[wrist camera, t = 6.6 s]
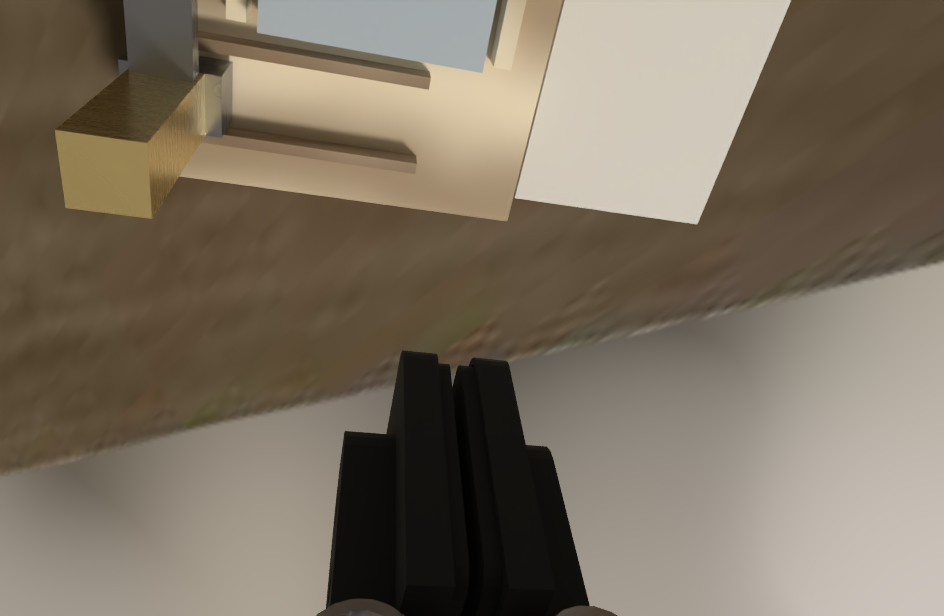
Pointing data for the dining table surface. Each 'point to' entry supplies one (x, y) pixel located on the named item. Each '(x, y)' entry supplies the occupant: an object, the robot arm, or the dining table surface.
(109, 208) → the latch
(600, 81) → the mat
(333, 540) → the robot arm
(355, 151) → the tan box base
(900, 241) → the dining table surface
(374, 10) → the cover
